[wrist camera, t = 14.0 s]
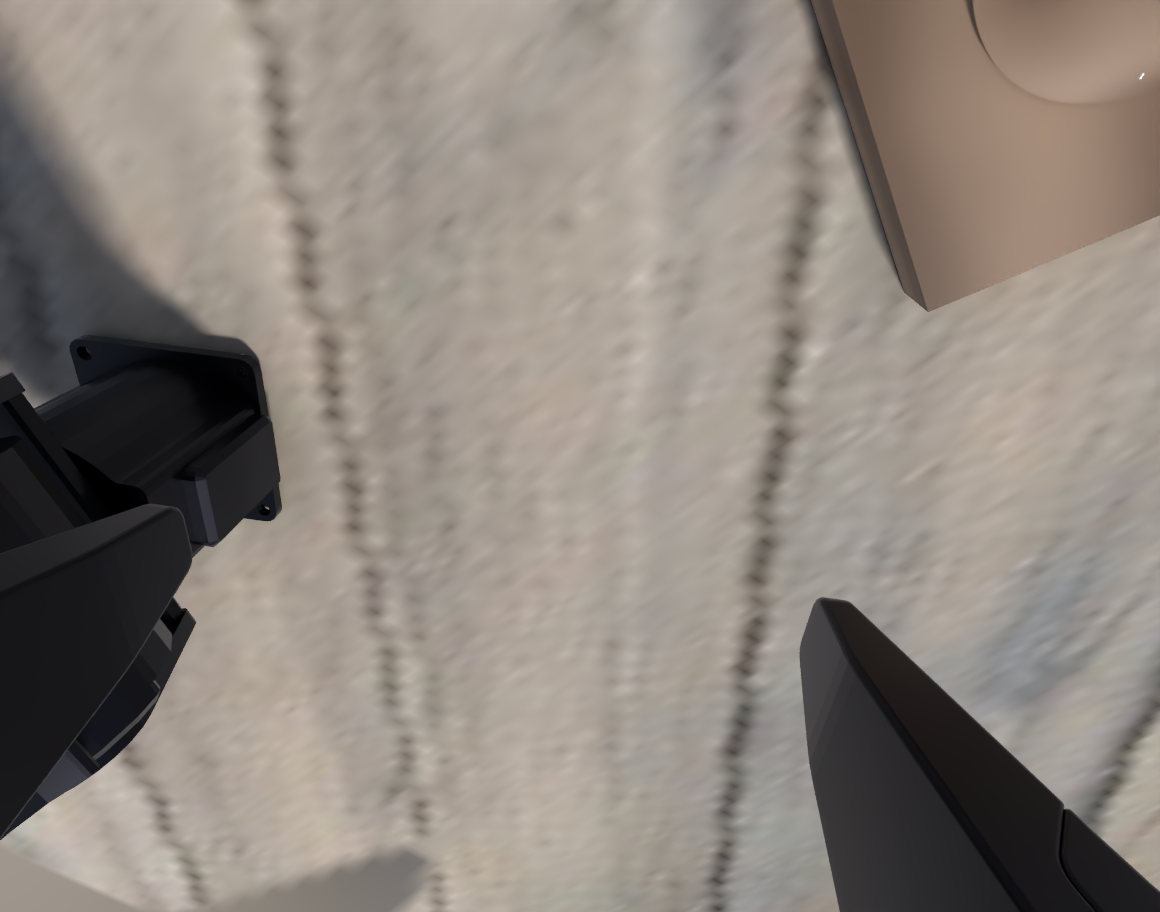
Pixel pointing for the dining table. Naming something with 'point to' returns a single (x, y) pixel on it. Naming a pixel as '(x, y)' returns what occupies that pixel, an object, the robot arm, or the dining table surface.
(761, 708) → the dining table surface
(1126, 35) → the beer glass
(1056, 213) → the walnut board
